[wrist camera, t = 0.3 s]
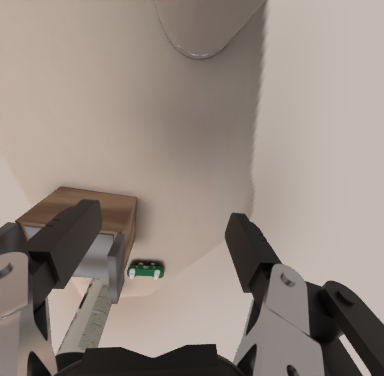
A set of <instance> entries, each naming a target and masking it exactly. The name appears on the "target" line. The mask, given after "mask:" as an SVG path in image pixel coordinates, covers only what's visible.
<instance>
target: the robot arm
mask: <svg viewBox="0 0 384 376" xmlns="http://www.w3.org/2000/svg"><path fill="white" fill-rule="evenodd" d="M265 1H266V0H155V3H156V7H157V10H158V14H159V18H160V21H161V24H162V27H163V29H164V32H165V34H166V36H167V37H168V39H169V41H170V42H171V43H172V45H173V46H174V47H175V48H176V49H177V50H178V51H179V52H181V53H182V54H183V55H185V56H187V57H190V58H194V59H206V58H209V57H211V56H214V55H215V54H217V53H218V52H219V51H221V50H222V49H223V48H224V47H225V46H226V44H227V43H228V42H229V41H230V40H231V39H232V38H233V37H234V36H235V35H236V34H237V33H238V32H239V30H240V29H241V28H242V27H243V26H244V25H245V24H246V23H247V21H248V20H249V19H250V18H251V17H252V16H253V15H254V14H255V12H256V11H257V10H258V9H259V8H260V7H261V6H262V5H263V4H264V2H265ZM101 228H102V214H101V206H100V202H99V200H93V199H82V200H80V201H79V202H78V203H77V204H76V205H75V206H74V207H69V208H67V209H65V210H63V211H61V212H60V213H58V214H57V215H56V216H55V217H54V218H53V219H52V221H49V222H48V223H47V224H46V225H45V227H43V228H42V229H40V230H39V231H38V232H37V233H36V234H35V235H34V236H32V237H31V238H30V239H29V240H28V241H27V242H26V243H25V244H23V245H22V246H21V247H20V248H19V249H18V250H17V251H16V252H10V253H5V254H2V255H0V376H363V375H362V374H361V372H360V371H359V369H358V368H357V366H356V364H355V363H354V361H353V360H352V358H351V357H350V355H349V354H348V352H347V350H346V349H345V347H344V346H343V344H342V343H341V341H340V340H339V337H340V336H342V335H343V334H345V336H346V337H347V339H348V340H349V342H350V343H351V344H352V346H353V348H354V349H355V351H356V352H357V353H358V355H359V356H360V358H361V359H362V361H363V362H364V364H365V365H366V367H367V368H368V370H369V371H370V373H371V375H372V376H384V325H383V324H382V322H381V321H380V320H379V319H378V318H377V317H376V316H375V315H374V313H373V312H372V311H371V310H370V309H369V308H368V307H367V306H366V304H365V303H364V302H363V301H362V300H361V299H360V298H359V297H358V296H357V295H356V294H355V293H354V292H353V291H352V290H350V289H349V288H347V287H346V286H344V285H342V284H340V283H338V282H335V281H327V282H326V283H325V284H324V285H323V286H322V287H321V286H318V285H315V284H312V283H309V282H306V281H304V279H303V278H302V277H301V276H300V275H299V274H298V273H297V272H296V271H295V270H294V269H292V268H291V267H289V266H286V265H284V264H282V263H281V261H280V260H279V258H278V257H277V255H276V254H275V252H274V251H273V249H272V247H271V246H270V245H269V243H268V242H267V240H266V238H265V237H264V236H263V234H262V232H261V230H260V229H259V228H258V227H257V226H256V225H255V224H254V223H252V222H250V221H249V219H248V218H247V216H246V215H245V214H242V213H232V214H231V216H230V219H229V222H228V225H227V228H226V231H225V240H226V243H227V246H228V249H229V252H230V254H231V257H232V260H233V263H234V266H235V269H236V272H237V275H238V278H239V281H240V284H241V286H242V289H243V292H244V293H252V295H253V297H254V298H253V300H252V303H251V306H250V310H249V314H248V318H247V321H246V325H245V329H244V333H243V337H242V340H241V343H240V345H239V347H238V349H237V352H236V355H235V357H234V361H233V363H232V362H231V361H229V360H228V359H226V358H224V357H222V356H220V355H218V354H217V349H216V344H204V345H203V344H202V345H185V346H183V347H181V348H178V349H175V350H173V351H171V352H168V353H166V354H163V355H161V356H159V357H155V358H151V357H147V356H144V355H142V354H139V353H136V352H133V351H130V350H127V349H125V348H122V347H112V348H110V347H109V348H86V349H85V352H84V355H83V357H82V360H80V361H77V362H75V363H73V364H71V365H69V366H67V367H66V368H64V369H62V370H61V371H59V372H57V364H56V359H55V355H54V352H53V348H52V342H51V330H50V318H49V307H48V306H49V305H48V298H47V296H48V294H49V293H50V292H51V290H52V289H64V288H65V286H66V284H67V283H68V281H69V280H70V278H71V277H72V275H73V273H74V272H75V270H76V269H77V267H78V266H79V264H80V262H81V261H82V259H83V258H84V256H85V255H86V253H87V251H88V250H89V248H90V247H91V245H92V244H93V242H94V240H95V239H96V237H97V236H98V234H99V232H100V231H101Z"/></svg>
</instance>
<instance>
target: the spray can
mask: <svg viewBox="0 0 384 376" xmlns="http://www.w3.org/2000/svg"><path fill="white" fill-rule="evenodd" d="M111 305H112V304H111V302H110V289H109V279H105V278H93V279H92V281H91V283H90V285H89V287H88V289H87V291H86V293H85V295H84V298H83V300H82V302H81V304H80V306H79V308H78V310H77V312H76V314H75V317H74V318H73V320H72V323H71V325H70V327H69V329H68V331H67V333H66V335H65V337H64V339H63V342H62V344H61V346H60V348H59V350H58V352H57V354H56V356H55V359H56V364H57V372H59V371H61V370H62V369H64V368H66V367H67V366H69V365H71V364H73V363H75V362H77V361H80V360H82V357H83V355H84V352H85V349H86V348H98V344H99V341H100V338H101V335H102V332H103V329H104V326H105V323H106V320H107V317H108V314H109V311H110V308H111Z"/></svg>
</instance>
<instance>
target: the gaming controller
mask: <svg viewBox="0 0 384 376" xmlns="http://www.w3.org/2000/svg"><path fill="white" fill-rule="evenodd" d="M154 264H155V263H151V265H149V266H144V264H143V263H140V262H139V264H138V265H130V266H129V268H128V270H127V275H128V276H129V277H130V279H133V278H134V277H135V276H136V275H138V276H153V277H154V279H155V280H157V279H158V278H162V277H163V275H164V271H163V268H162V267H161V266H156V265H154Z"/></svg>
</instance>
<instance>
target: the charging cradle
mask: <svg viewBox="0 0 384 376" xmlns="http://www.w3.org/2000/svg"><path fill="white" fill-rule="evenodd" d="M82 199H93V200H99V202H100V206H101V214H102V228H101V231H100V232H99V234H98V236H97V237H96V239H95V240H94V242H93V244H92V245H91V247H90V248H89V250H88V251H87V253H86V255H85V256H84V258H83V259H82V261H81V262H80V264H79V266H78V267H77V269H76V270H75V272H74V273H73V275H72V277H88V278H105V279H109V289H110V302H111V304H117V303H118V300H119V297H120V293H121V290H122V287H123V284H124V271H125V268H126V265H127V262H128V259H129V255H130V252H131V249H132V246H133V243H134V238H135V221H136V203H137V198H136V197H129V196H122V195H115V194H108V193H101V192H94V191H87V190H80V189H74V188H67V187H59V188H58V189H57V190H55V191H54V192H53V193H51V194H50V195H49V196H47V197H46V198H45V199H43V200H42V201H41V202H39V203H38V204H37V205H35V206H34V207H33V208H32V209H30V210H29V211H28V212H26V213H25V214H24V215H22V216H21V217H20V218H18V219H17V220H16V221H15V222H16V223H10V222H8V223H6V224H5V225H4V226H2V227H1V228H0V255H2V254H5V253H10V252H16V251H17V250H18V249H19V248H20V247H21V246H22V245H23V244H25V243H26V242H27V241H28V240H29V239H30V238H31V237H32V236H34V235H35V234H36V233H37V232H38V231H39V230H40V229H42V228H43V227H45V225H46V224H47V223H48V222H49V221H52V219H53V218H54V217H55V216H56V215H57V214H58V213H60V212H61V211H63V210H65V209H67V208H69V207H74V206H75V205H76V204H77V203H78V202H79V201H80V200H82Z"/></svg>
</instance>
